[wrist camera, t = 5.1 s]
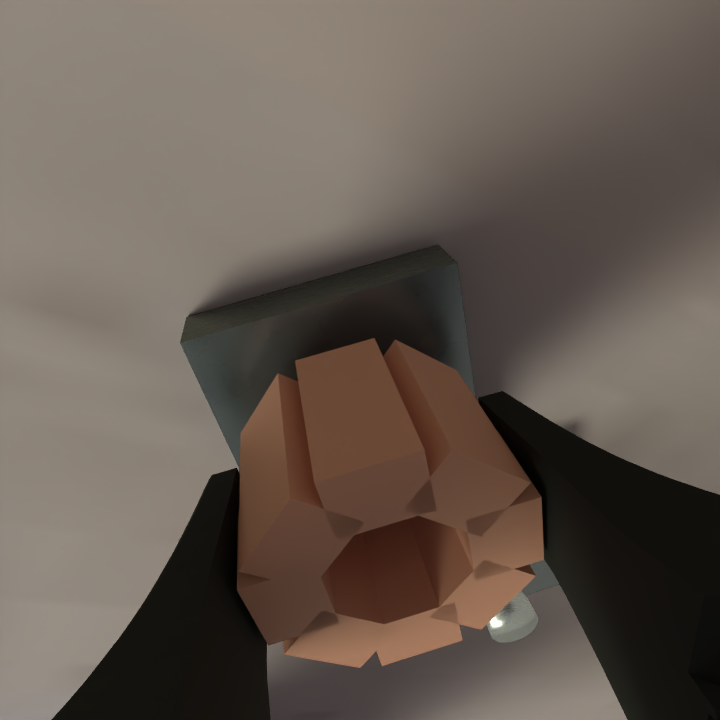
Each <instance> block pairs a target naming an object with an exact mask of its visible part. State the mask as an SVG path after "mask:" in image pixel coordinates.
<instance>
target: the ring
mask: <svg viewBox="0 0 720 720" xmlns="http://www.w3.org/2000/svg"><path fill="white" fill-rule="evenodd" d="M295 364H296V370H297V377H298V381H295V380H293V379H291V378H288V377H286V376H284V375H281V374H279V373H278V374H277V375H276V377H275V379H274V380H273V382H272V383H271V385H270V387H269V388H268V390H267V391H266V393H265V395H264V396H263V398H262V399H261V401H260V403H259V404H258V406H257V408H256V409H255V411H254V412H253V414H252V416H251V417H250V419H249V420H248V422H247V424H246V425H245V427H244V429H243V430H242V432H241V443H240V449H239V474H240V506H239V514H238V552H237V591H238V593H239V595H240V597H241V598H242V600H243V602H244V604H245V605H246V607H247V609H248V611H249V612H250V614H251V616H252V618H253V619H254V621H255V623H256V625H257V626H258V628H259V630H260V632H261V633H262V635H263V637H264V639H265V640H266V642H267V644H268V645H271V644H275V643H278V642H281V641H283V643H284V655H289V656H295V657H301V658H306V659H312V660H318V661H323V662H329V663H335V664H340V665H346V666H352V667H357V668H361V667H362V666H363V664H364V663H365V662H366V661H367V660H368V659H369V658H370V657H371V656H372V655H373V654H374V653H375V651H377V654H378V657H379V659H380V662H381V665H382V666H384V665H387V664H390V663H393V662H396V661H400V660H403V659H406V658H409V657H412V656H415V655H419V654H422V653H425V652H428V651H431V650H434V649H438V648H441V647H444V646H447V645H450V644H453V643H457V642H460V641H463V640H462V635H461V630H460V625H464V626H468V627H472V628H476V629H480V630H482V629H483V628H484V627H485V626H486V625H487V624H488V623H489V622H490V621H491V620H492V619H493V618H494V617H495V616H496V615H497V614H498V613H499V612H500V611H501V610H502V609H503V608H504V607H505V606H506V605H507V604H508V603H509V602H510V601H511V600H512V599H513V598H514V597H515V596H516V595H517V594H518V593H519V592H520V591H521V590H522V589H523V588H524V587H525V586H526V585H527V584H528V583H529V582H530V581H531V580H532V579H533V578H534V577H535V576H536V575H535V573H534V571H533V570H532V568H531V566H530V564H532V563H535V562H538V561H541V560H544V546H543V521H542V497H541V495H540V494H539V492H538V491H537V489H536V488H535V486H534V485H533V483H532V482H531V480H530V479H529V477H528V476H527V474H526V473H525V471H524V470H523V468H522V467H521V465H520V464H519V462H518V461H517V459H516V458H515V456H514V455H513V453H512V452H511V450H510V449H509V447H508V446H507V444H506V443H505V441H504V440H503V438H502V437H501V435H500V434H499V432H498V431H497V430H496V429H495V427H494V426H493V424H492V423H491V421H490V420H489V418H488V417H487V415H486V414H485V412H484V411H483V409H482V408H481V406H480V405H479V402H478V401H477V399H476V398H475V396H474V395H473V393H472V392H471V390H470V388H469V387H468V385H467V384H466V383H465V382H464V381H463V379H462V378H461V376H460V375H459V373H458V372H457V370H455V369H453V368H451V367H449V366H447V365H445V364H443V363H441V362H439V361H437V360H435V359H433V358H431V357H429V356H427V355H425V354H423V353H421V352H419V351H417V350H415V349H413V348H411V347H409V346H407V345H405V344H403V343H401V342H399V341H397V340H394V342H393V343H392V345H391V346H390V348H389V349H388V350H387V352H386V353H385V355H384V356H382V354H381V351H380V349H379V347H378V345H377V342H376V340H375V338H373V339H369V340H366V341H362V342H359V343H355V344H352V345H348V346H345V347H341V348H338V349H334V350H331V351H327V352H324V353H320V354H317V355H313V356H310V357H306V358H303V359H299V360H296V361H295Z"/></svg>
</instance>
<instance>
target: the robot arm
mask: <svg viewBox="0 0 720 720" xmlns="http://www.w3.org/2000/svg"><path fill="white" fill-rule="evenodd" d="M479 405H480V406H481V408H482V409H483V411H484V412H485V414H486V415H487V417H488V418H489V420H490V421H491V423H492V424H493V426H494V427H495V429H496V430H497V431H498V432H499V434H500V435H501V437H502V438H503V440H504V441H505V443H506V444H507V446H508V447H509V449H510V450H511V452H512V453H513V455H514V456H515V458H516V459H517V461H518V462H519V464H520V465H521V467H522V468H523V470H524V471H525V473H526V474H527V476H528V477H529V479H530V480H531V482H532V483H533V485H534V486H535V488H536V489H537V491H538V492H539V494H540V495H541V497H542V521H543V546H544V560H545V561H546V563H547V565H548V566H549V568H550V569H551V571H552V572H553V574H554V576H555V577H556V579H557V581H558V582H559V584H560V586H561V587H562V589H563V591H564V593H565V595H566V597H567V599H568V601H569V603H570V605H571V606H572V608H573V610H574V612H575V614H576V616H577V618H578V620H579V622H580V624H581V626H582V628H583V630H584V632H585V634H586V636H587V638H588V640H589V642H590V644H591V646H592V648H593V650H594V652H595V653H596V655H597V657H598V659H599V661H600V663H601V665H602V667H603V669H604V672H605V674H606V676H607V678H608V680H609V682H610V684H611V686H612V688H613V690H614V692H615V694H616V697H617V699H618V701H619V703H620V705H621V707H622V709H623V711H624V713H625V715H626V717H627V719H628V720H720V495H719V494H715V493H712V492H709V491H706V490H703V489H700V488H697V487H694V486H691V485H688V484H685V483H682V482H679V481H676V480H673V479H671V478H668V477H665V476H663V475H660V474H657V473H655V472H652V471H650V470H648V469H645V468H643V467H640V466H638V465H636V464H633V463H631V462H628V461H626V460H624V459H622V458H619V457H617V456H615V455H613V454H611V453H609V452H607V451H605V450H603V449H601V448H599V447H597V446H595V445H593V444H591V443H589V442H587V441H585V440H583V439H581V438H579V437H578V436H576V435H574V434H572V433H571V432H569V431H567V430H565V429H564V428H562V427H560V426H558V425H557V424H555V423H553V422H552V421H550V420H548V419H547V418H545V417H543V416H542V415H540V414H538V413H537V412H535V411H534V410H532V409H530V408H529V407H527V406H526V405H524V404H522V403H521V402H519V401H518V400H516V399H514V398H513V397H511V396H510V395H508V394H506V393H505V392H503V391H501V392H497V393H494V394H490V395H487V396H483V397H480V398H479ZM239 506H240V474H239V472H238V470H237V468H235V469H231V470H228V471H225V472H221V473H218V474H214V475H212V476H211V477H210V479H209V481H208V483H207V485H206V487H205V489H204V491H203V493H202V496H201V498H200V500H199V502H198V504H197V506H196V508H195V510H194V512H193V515H192V517H191V519H190V521H189V523H188V525H187V527H186V529H185V531H184V533H183V534H182V536H181V538H180V540H179V542H178V544H177V546H176V548H175V550H174V552H173V554H172V555H171V557H170V559H169V561H168V563H167V564H166V566H165V568H164V569H163V571H162V573H161V575H160V576H159V578H158V580H157V582H156V583H155V585H154V587H153V588H152V590H151V592H150V593H149V595H148V596H147V598H146V600H145V601H144V603H143V604H142V606H141V607H140V609H139V610H138V612H137V613H136V615H135V616H134V618H133V619H132V621H131V622H130V624H129V625H128V626H127V628H126V629H125V631H124V632H123V634H122V635H121V636H120V638H119V639H118V640H117V641H116V643H115V644H114V645H113V647H112V648H111V649H110V650H109V652H108V653H107V654H106V656H105V657H104V658H103V659H102V661H101V662H100V663H99V665H98V666H97V667H96V668H95V670H94V671H93V672H92V673H91V675H90V676H89V677H88V679H87V680H86V681H85V682H84V683H83V685H82V686H81V687H80V688H79V689H78V690H77V692H76V693H75V694H74V695H73V696H72V697H71V699H70V700H69V701H68V702H67V703H66V704H65V705H64V707H63V708H62V709H61V710H60V711H59V712H58V713H57V714H56V715H55V717H54V718H53V719H52V720H270V708H269V696H268V684H267V642H266V640H265V639H264V637H263V635H262V633H261V632H260V630H259V628H258V626H257V625H256V623H255V621H254V619H253V618H252V616H251V614H250V612H249V611H248V609H247V607H246V605H245V604H244V602H243V600H242V598H241V597H240V595H239V593H238V591H237V552H238V514H239Z"/></svg>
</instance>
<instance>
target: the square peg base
mask: <svg viewBox="0 0 720 720" xmlns="http://www.w3.org/2000/svg"><path fill="white" fill-rule="evenodd" d="M373 338H375V340H376V342H377V345H378V347H379V349H380V351H381V354H382V356H384V355H385V353H386V352H387V350H388V349H389V348H390V346H391V345H392V343H393V342H394V340H397V341H399V342H401V343H403V344H405V345H407V346H409V347H411V348H413V349H415V350H417V351H419V352H421V353H423V354H425V355H427V356H429V357H431V358H433V359H435V360H437V361H439V362H441V363H443V364H445V365H447V366H449V367H451V368H453V369H455V370H457V372H458V373H459V375H460V376H461V378H462V379H463V381H464V382H465V383H466V384H467V385H468V387H469V388H470V390H471V392H472V393H473V395H474V396H475V390H474V383H473V375H472V368H471V360H470V353H469V346H468V338H467V331H466V324H465V316H464V309H463V301H462V294H461V287H460V279H459V272H458V265H457V262H456V261H455V260H454V259H453V258H452V257H451V256H450V255H449V254H448V253H446V252H445V251H444V250H443V249H442V248H441V247H440V246H439V245H436V246H432V247H429V248H425V249H422V250H418V251H415V252H411V253H408V254H404V255H401V256H397V257H394V258H390V259H387V260H383V261H380V262H376V263H373V264H370V265H366V266H363V267H359V268H356V269H352V270H349V271H345V272H342V273H338V274H335V275H331V276H328V277H324V278H321V279H317V280H314V281H310V282H307V283H303V284H300V285H296V286H293V287H289V288H286V289H283V290H279V291H276V292H272V293H269V294H265V295H262V296H258V297H255V298H251V299H248V300H244V301H241V302H237V303H234V304H230V305H227V306H223V307H220V308H216V309H213V310H209V311H206V312H203V313H199V314H196V315H192V316H189V317H186V321H185V325H184V329H183V333H182V337H181V341H180V344H181V346H182V348H183V350H184V352H185V354H186V356H187V359H188V361H189V363H190V365H191V367H192V369H193V371H194V373H195V376H196V378H197V380H198V382H199V384H200V386H201V388H202V390H203V393H204V395H205V397H206V399H207V401H208V403H209V405H210V407H211V409H212V412H213V414H214V416H215V418H216V420H217V422H218V424H219V426H220V429H221V431H222V433H223V435H224V437H225V439H226V441H227V443H228V445H229V448H230V450H231V452H232V454H233V456H234V458H235V460H236V462H237V465H238V467H239V449H240V443H241V432H242V430H243V429H244V427H245V425H246V424H247V422H248V420H249V419H250V417H251V416H252V414H253V412H254V411H255V409H256V408H257V406H258V404H259V403H260V401H261V399H262V398H263V396H264V395H265V393H266V391H267V390H268V388H269V387H270V385H271V383H272V382H273V380H274V379H275V377H276V375H277V374H278V373H279V374H281V375H284V376H286V377H288V378H291V379H293V380H295V381H298V377H297V370H296V364H295V361H296V360H299V359H303V358H306V357H310V356H313V355H317V354H320V353H324V352H327V351H331V350H334V349H338V348H341V347H345V346H348V345H352V344H355V343H359V342H362V341H366V340H369V339H373ZM475 398H476V397H475Z"/></svg>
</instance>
